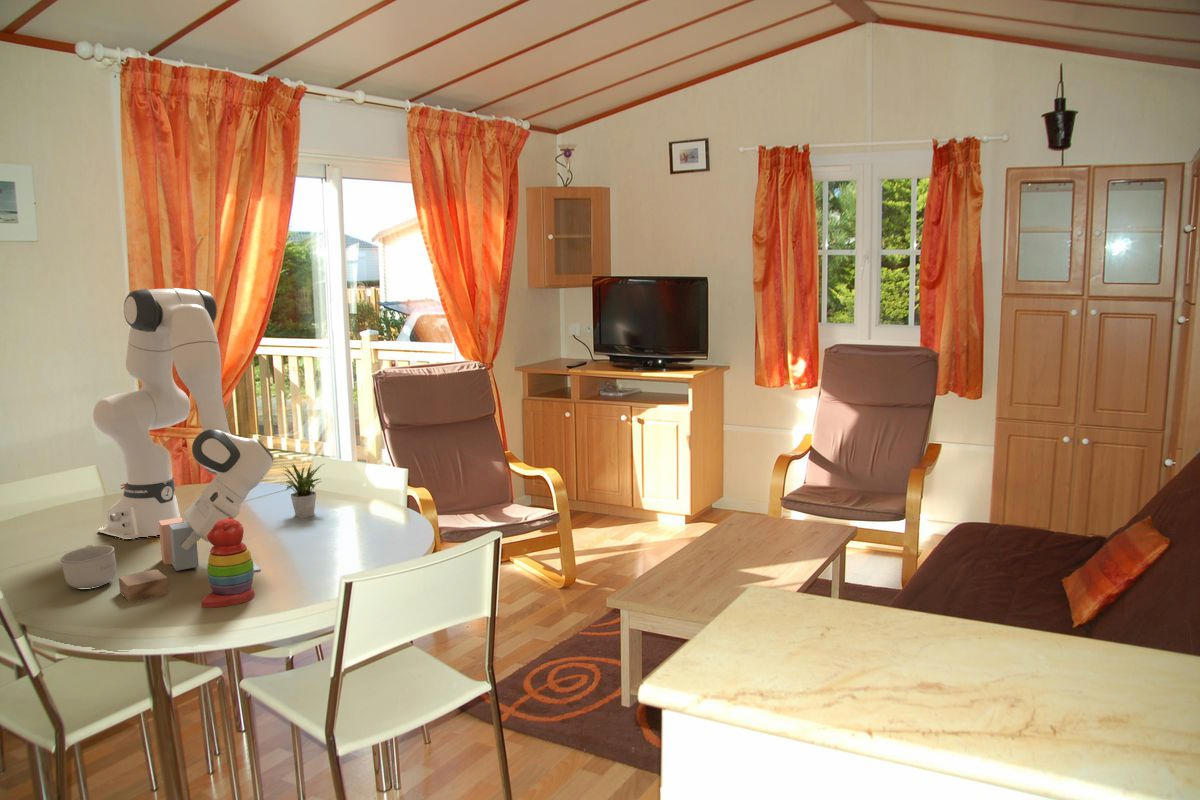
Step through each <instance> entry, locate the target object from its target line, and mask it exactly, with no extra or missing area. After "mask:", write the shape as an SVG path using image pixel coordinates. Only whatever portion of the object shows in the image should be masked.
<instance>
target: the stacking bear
mask: <svg viewBox="0 0 1200 800" xmlns="http://www.w3.org/2000/svg"><path fill="white" fill-rule="evenodd" d="M243 526H244V525H242V523H241V521H239V520H237V519H236V518H234V519H233V518H232V517H230V516H229V517H228V519H222V520H220V521H218V522H216V523H215V525H214V527H213V528H212V530H211V531H209V532H208V533H207V539H208V540H209V541H208V543H210V544H211V545H212V547H211V548H210V551H209V555H208V560H207V561H208V563H207V569H206V570H207V571H206V572H207V578H208V583H209V585H210V588H211V592H210V593H208V594H207V595H206V596H205V597H203V598H202V600H201V607H204V608H221V607H229V606H235V605H238V604H242V603H245V602H248V601H250V600H251V599H253V598H254V597H255V595H256V594H255V590H254V588H253V586H252V585H253V580H254V579H253V578H254V573H255V572H254V568H253V567H254V565H253V563H254V561H253V558H252V555H251V551H250V549H249V547H247V545H246V544H245V542H242V541H243V539H244V538H243V537H244V527H243Z"/></svg>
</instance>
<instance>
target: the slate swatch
mask: <svg viewBox="0 0 1200 800" xmlns="http://www.w3.org/2000/svg"><path fill="white" fill-rule="evenodd" d="M253 565H254V567H253V568H254V573H257V572H261V568H260V567H259V566H258V564H256V563H255V562H253Z"/></svg>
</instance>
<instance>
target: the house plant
mask: <svg viewBox="0 0 1200 800" xmlns="http://www.w3.org/2000/svg"><path fill="white" fill-rule="evenodd" d="M305 460H306V459H304V461H303V463H302V464H304V463H305ZM325 464H327V463H323V464H320V465H319V466H318V467H316V469H315V468H314V469H313V470H311V468H312V467H311V466H312V465H311V463H309V466H308V468H307V472H306V476H304V470H305V468H306V466H304V465H302V467H301V472H300V471H299V470H298V468H297V466H296V464H295V463H293V462H291V463H290V466H291V467H292V469H293V470H294V472H295V476H296V477H295V476H294V474H293V473H292V472H291V471H290V469H289V468H288V467H286V466H285V465H282V464H280V467H283V468H285V469H284V471H285V472H287V473H288V474H289V475H290V476H291V477H292V478H293V480H294V481H295V482H296V483H295V482H294V481H293V480H292V478H291V477H290V476H289V475H288V474H287V473H284V472H282V474H284V475H285V476H286V477H287V478H288V479H289V480H286V481H285V482H284V483H285V484H284V485H285V486H287V487H286V489H285V491H287V490H289V489H292V490H293V491H294V492H293V493H291V494H290V498H291V503H292V506H293V511H294V515H295V517H297V516H298V517H297V518H306V517H305V516H308V517H311V515H312V516H314V515H315V508H316V498H317V492H316V491H313V490H314V489H315V487H316V485H317V484H319V483H322V481H321V480H320V478H316V479H315V478H314V479H313V477H314V475H315V474H317V473H316V472H317V471H319V469H320V468H321V467H322V466H323V465H325ZM319 480H320V481H319ZM317 481H318V482H317ZM315 482H316V483H315ZM314 483H315V484H314ZM281 485H282V484H280V486H281ZM313 514H314V515H313Z"/></svg>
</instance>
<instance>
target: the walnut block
mask: <svg viewBox="0 0 1200 800" xmlns="http://www.w3.org/2000/svg"><path fill="white" fill-rule="evenodd" d="M168 583H169V581H168V577H167V576H166V575H165V574H164V573H162V572H161V571H160V570H159V569H157V568H156V569H151V570H146V571H145V570H144V571H141V572H136V573H132V574H126V575H122V576H118V584H119V593H120V592H121V593H122V594H123V595H124V596H125V598H126V599H127V600H128V601H129V602H130V603H134V602H133V601H135V602H138V600H139V601H143V600H148V599H152V598H155V597H156V596H157V597H160V595H161V596H164V595H165V596H166V595H168V594H169V584H168ZM121 593H120V594H121ZM122 594H121V595H122ZM123 595H122V596H123ZM124 596H123V597H124ZM151 597H152V598H151ZM157 597H156V598H157ZM125 598H124V599H125ZM147 598H148V599H147ZM126 599H125V600H126ZM142 599H143V600H142ZM127 600H126V601H127ZM128 601H127V602H128ZM129 602H128V603H129Z"/></svg>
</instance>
